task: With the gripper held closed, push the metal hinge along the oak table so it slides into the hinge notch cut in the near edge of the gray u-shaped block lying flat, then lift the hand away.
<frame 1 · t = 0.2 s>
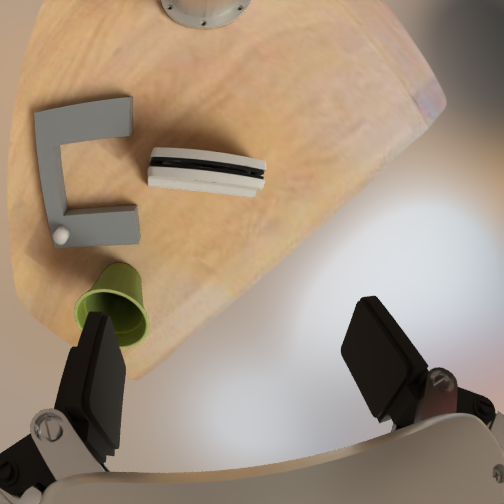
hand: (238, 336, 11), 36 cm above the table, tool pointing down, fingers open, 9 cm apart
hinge: (204, 166, 43), on the table
plant pot: (122, 277, 50), on the table
gray u-shaped block: (88, 174, 39), on the table
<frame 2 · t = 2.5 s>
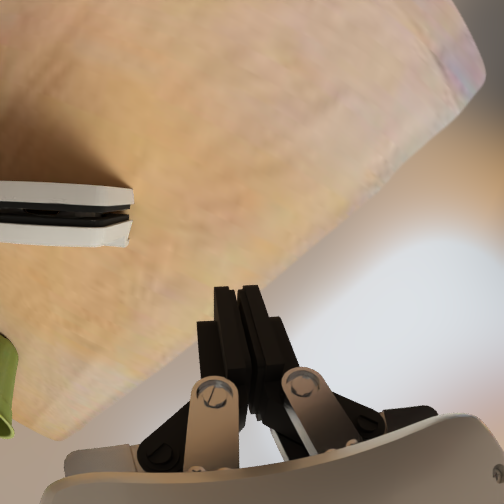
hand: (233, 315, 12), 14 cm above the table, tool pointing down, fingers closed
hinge: (46, 194, 21), on the table
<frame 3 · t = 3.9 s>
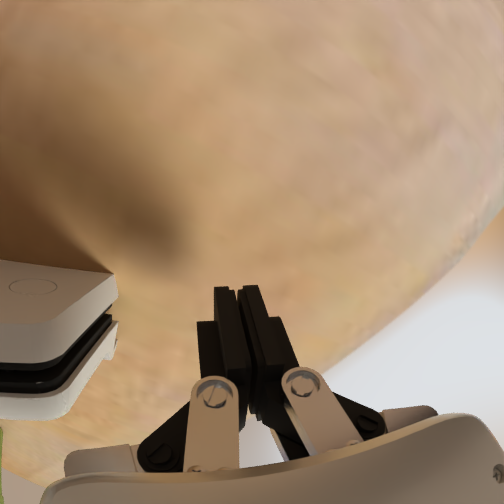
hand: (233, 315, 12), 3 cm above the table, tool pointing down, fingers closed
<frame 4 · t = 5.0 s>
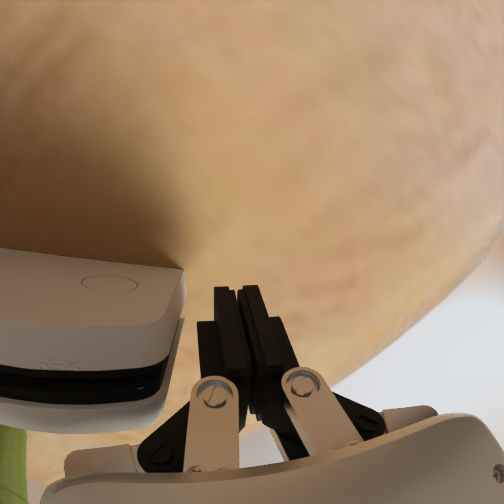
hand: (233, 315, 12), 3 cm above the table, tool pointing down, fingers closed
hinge: (35, 268, 13), on the table, touching gripper
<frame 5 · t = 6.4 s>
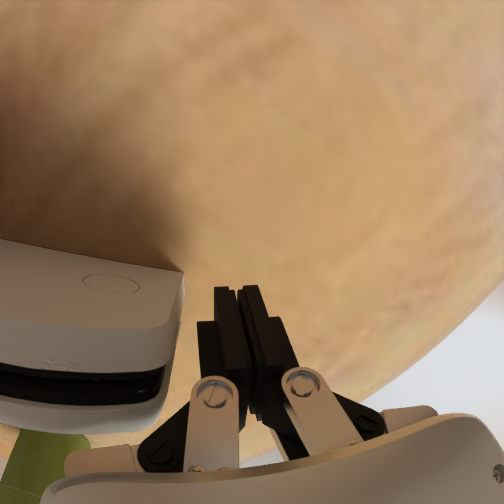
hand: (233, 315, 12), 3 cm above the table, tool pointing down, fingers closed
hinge: (32, 261, 12), on the table, touching gripper
plant pot: (57, 432, 21), on the table
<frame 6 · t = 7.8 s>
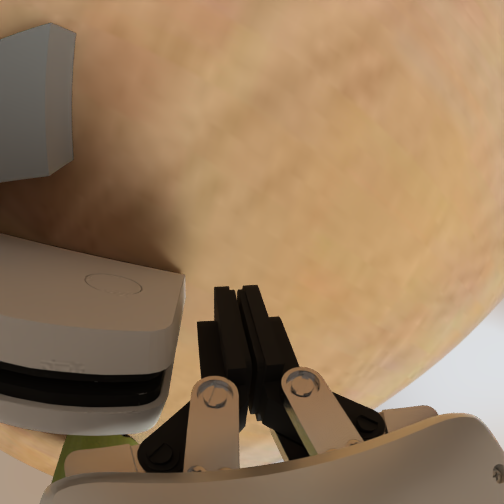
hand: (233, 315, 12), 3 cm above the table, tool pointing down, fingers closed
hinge: (32, 257, 12), on the table, touching gray u-shaped block, gripper
plant pot: (104, 438, 22), on the table
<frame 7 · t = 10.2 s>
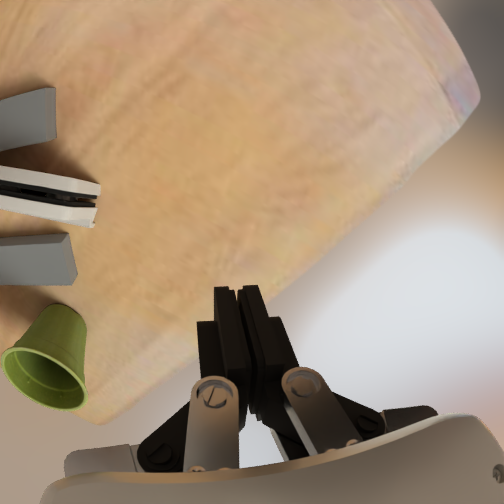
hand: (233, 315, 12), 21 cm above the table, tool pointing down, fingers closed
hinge: (37, 181, 27), on the table
plant pot: (65, 321, 36), on the table
gray u-shaped block: (10, 193, 26), on the table
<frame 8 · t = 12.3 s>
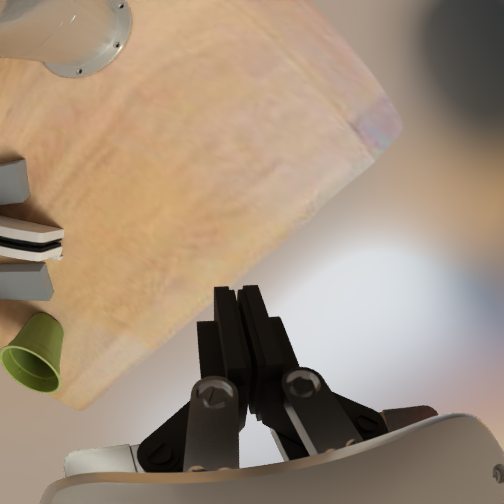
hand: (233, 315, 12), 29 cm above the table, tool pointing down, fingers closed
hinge: (20, 225, 35), on the table
plant pot: (47, 325, 45), on the table
gray u-shaped block: (2, 233, 35), on the table
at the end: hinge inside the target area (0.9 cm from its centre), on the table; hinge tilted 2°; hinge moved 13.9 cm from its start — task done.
